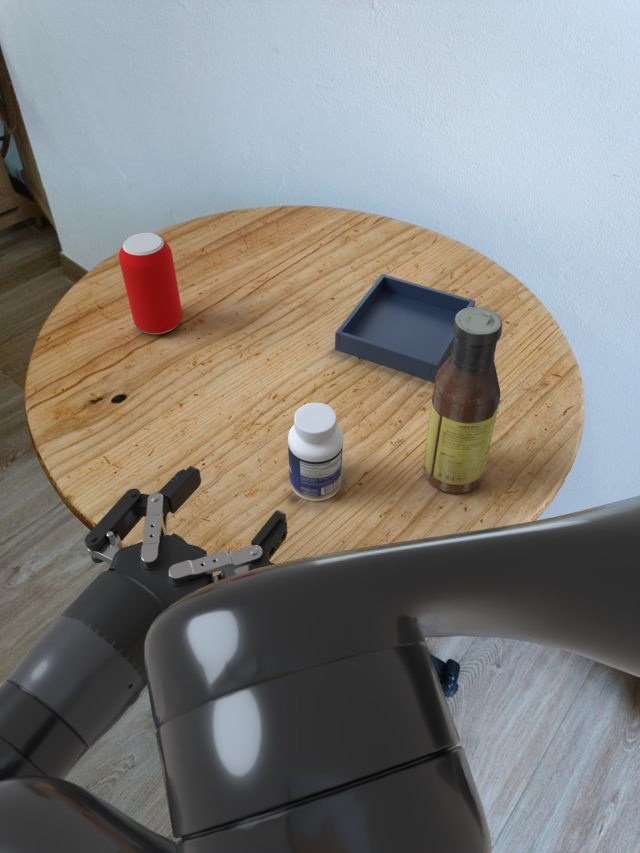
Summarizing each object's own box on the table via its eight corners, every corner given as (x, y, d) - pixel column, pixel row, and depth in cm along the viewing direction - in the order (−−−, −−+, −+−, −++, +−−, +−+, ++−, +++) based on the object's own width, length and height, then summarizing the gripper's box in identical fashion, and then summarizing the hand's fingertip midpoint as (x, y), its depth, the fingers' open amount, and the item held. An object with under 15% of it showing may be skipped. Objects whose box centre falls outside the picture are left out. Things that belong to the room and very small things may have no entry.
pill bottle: (291, 461, 73) (289, 395, 66) (342, 463, 73) (345, 397, 66) (287, 501, 70) (284, 436, 62) (340, 504, 69) (343, 439, 62)
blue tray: (472, 317, 90) (475, 300, 89) (434, 382, 82) (437, 365, 80) (380, 290, 95) (381, 273, 93) (334, 349, 86) (335, 332, 84)
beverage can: (131, 315, 90) (112, 233, 82) (178, 305, 92) (164, 224, 83) (139, 343, 86) (120, 261, 78) (188, 333, 88) (174, 251, 79)
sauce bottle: (494, 479, 72) (538, 329, 57) (448, 506, 69) (483, 356, 55) (451, 441, 75) (483, 290, 61) (407, 465, 73) (429, 314, 58)
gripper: (172, 688, 41) (313, 503, 51) (6, 579, 46) (163, 429, 56) (188, 734, 47) (312, 559, 56) (37, 632, 52) (176, 487, 61)
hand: (238, 494), depth 56 cm, fingers open, 8 cm apart
